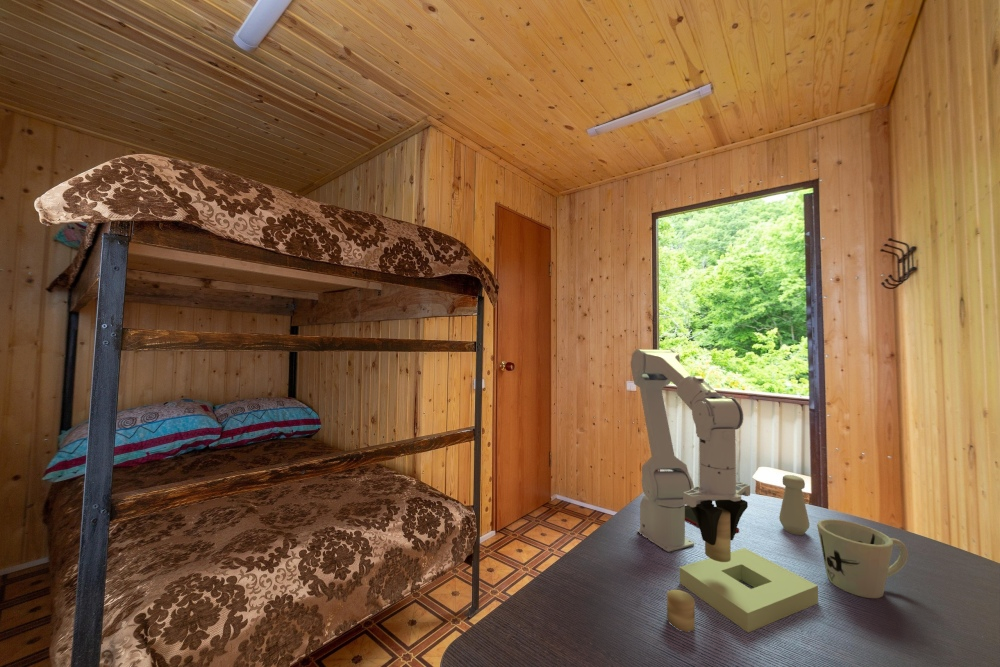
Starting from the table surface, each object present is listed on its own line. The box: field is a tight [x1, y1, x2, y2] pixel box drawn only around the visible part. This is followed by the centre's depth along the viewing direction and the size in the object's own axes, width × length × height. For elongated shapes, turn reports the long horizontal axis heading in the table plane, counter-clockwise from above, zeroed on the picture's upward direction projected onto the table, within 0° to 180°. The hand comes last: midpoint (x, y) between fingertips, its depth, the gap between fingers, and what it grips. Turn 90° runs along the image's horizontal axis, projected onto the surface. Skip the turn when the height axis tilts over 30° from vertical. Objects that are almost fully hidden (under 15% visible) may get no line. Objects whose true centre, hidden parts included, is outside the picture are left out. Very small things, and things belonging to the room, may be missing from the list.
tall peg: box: [704, 506, 732, 562], centre depth 68 cm, size 4×4×8 cm
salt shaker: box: [778, 474, 810, 536], centre depth 91 cm, size 6×6×13 cm
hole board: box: [679, 547, 819, 634], centre depth 68 cm, size 13×18×3 cm
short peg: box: [666, 589, 696, 633], centre depth 61 cm, size 4×4×4 cm
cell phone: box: [685, 505, 740, 534], centre depth 96 cm, size 8×15×1 cm, turn 23°
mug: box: [816, 518, 909, 599], centre depth 71 cm, size 10×15×10 cm
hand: (717, 539), depth 68 cm, fingers closed on tall peg, 4 cm apart
